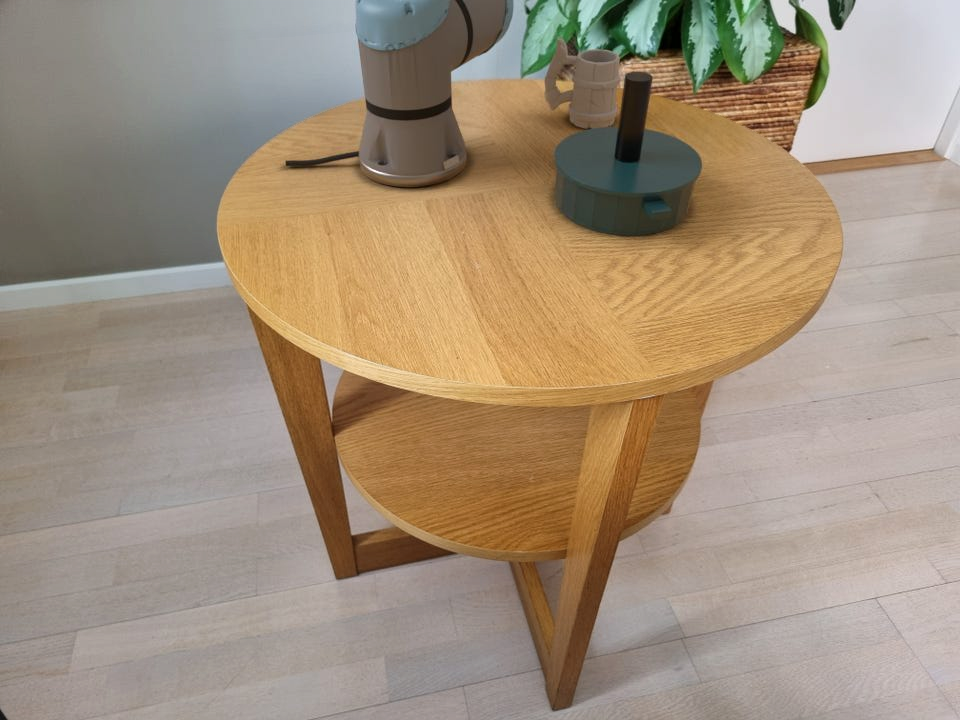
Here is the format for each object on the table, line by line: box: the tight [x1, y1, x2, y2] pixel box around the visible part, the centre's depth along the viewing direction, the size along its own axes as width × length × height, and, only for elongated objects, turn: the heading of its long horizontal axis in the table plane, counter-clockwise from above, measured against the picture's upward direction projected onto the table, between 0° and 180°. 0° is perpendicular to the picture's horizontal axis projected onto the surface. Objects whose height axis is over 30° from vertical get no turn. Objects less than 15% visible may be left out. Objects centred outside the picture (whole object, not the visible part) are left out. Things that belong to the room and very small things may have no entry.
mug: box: [544, 36, 621, 130], centre depth 107 cm, size 8×12×12 cm, turn 77°
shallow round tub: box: [554, 168, 696, 237], centre depth 90 cm, size 17×23×6 cm
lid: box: [553, 71, 703, 197], centre depth 85 cm, size 18×18×11 cm
